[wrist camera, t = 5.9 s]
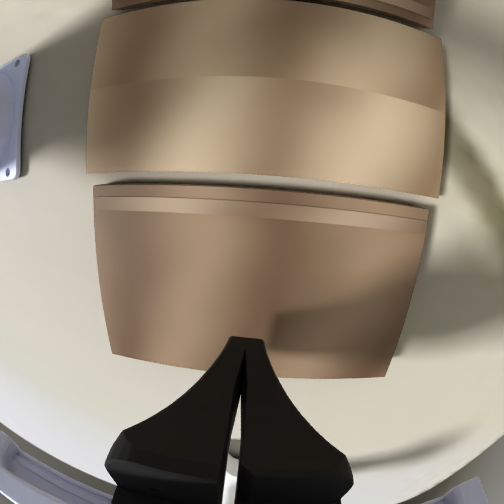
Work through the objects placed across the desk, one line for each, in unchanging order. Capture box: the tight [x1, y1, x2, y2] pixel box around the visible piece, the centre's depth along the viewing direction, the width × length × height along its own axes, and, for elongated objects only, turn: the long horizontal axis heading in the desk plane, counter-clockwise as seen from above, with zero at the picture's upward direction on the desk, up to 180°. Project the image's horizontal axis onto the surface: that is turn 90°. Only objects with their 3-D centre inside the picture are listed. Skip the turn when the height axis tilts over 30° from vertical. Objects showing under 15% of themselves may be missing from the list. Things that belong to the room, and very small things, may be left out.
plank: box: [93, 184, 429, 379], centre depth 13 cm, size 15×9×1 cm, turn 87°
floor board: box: [86, 0, 445, 198], centre depth 10 cm, size 16×8×1 cm, turn 86°
